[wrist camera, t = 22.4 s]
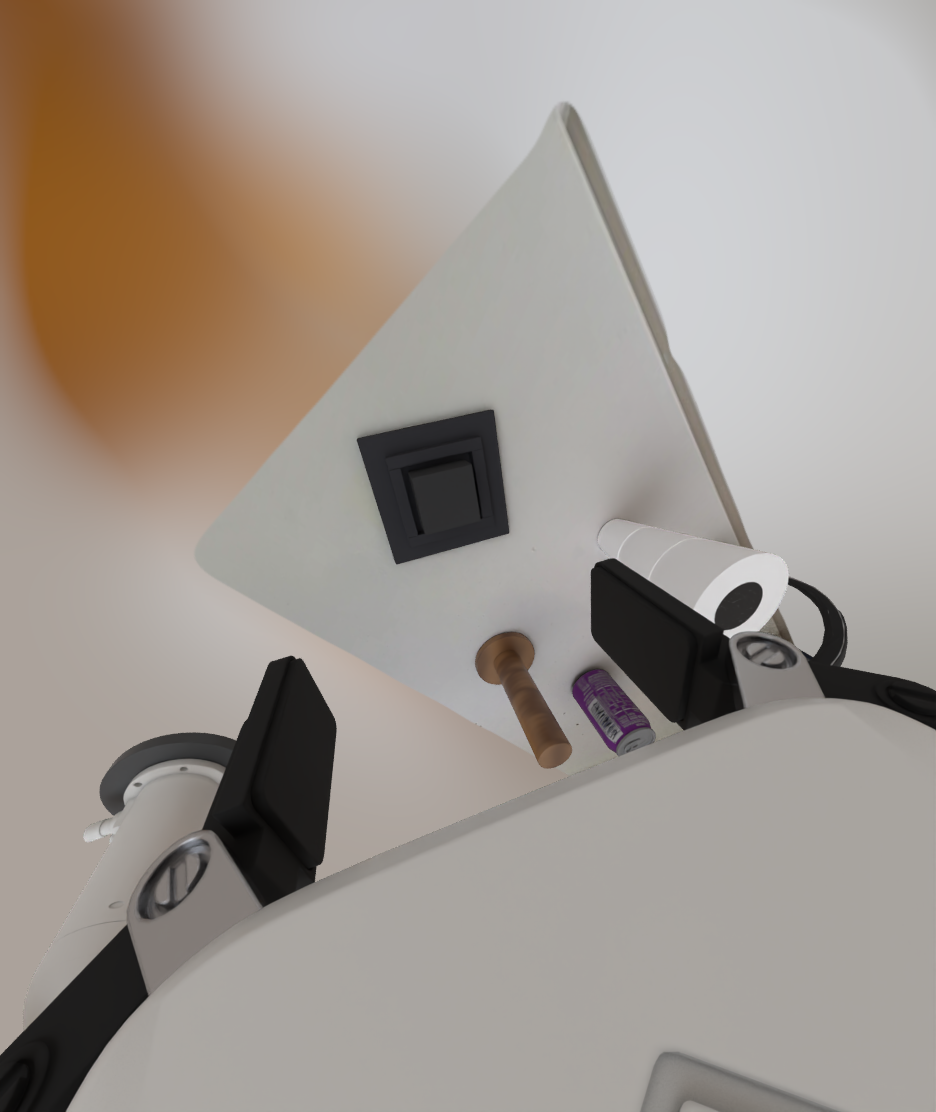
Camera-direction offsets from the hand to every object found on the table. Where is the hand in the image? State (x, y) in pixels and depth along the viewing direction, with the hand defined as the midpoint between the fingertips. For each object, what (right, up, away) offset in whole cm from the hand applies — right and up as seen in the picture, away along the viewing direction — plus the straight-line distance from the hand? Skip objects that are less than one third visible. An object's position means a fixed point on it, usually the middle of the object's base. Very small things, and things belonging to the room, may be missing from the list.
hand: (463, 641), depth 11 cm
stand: (+6, -12, +40) cm, 42 cm away
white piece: (+20, +6, +36) cm, 41 cm away
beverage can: (+21, -19, +48) cm, 55 cm away
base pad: (-3, +10, +27) cm, 29 cm away
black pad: (-3, +10, +26) cm, 28 cm away
